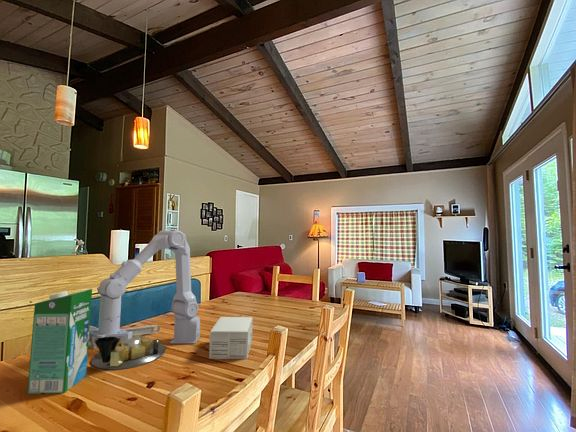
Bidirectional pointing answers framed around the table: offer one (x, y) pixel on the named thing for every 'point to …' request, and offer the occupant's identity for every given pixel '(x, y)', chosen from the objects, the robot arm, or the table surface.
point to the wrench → (134, 330)
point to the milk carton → (59, 342)
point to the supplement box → (231, 338)
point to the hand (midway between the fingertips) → (107, 361)
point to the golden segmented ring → (130, 351)
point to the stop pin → (155, 346)
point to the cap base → (129, 363)
